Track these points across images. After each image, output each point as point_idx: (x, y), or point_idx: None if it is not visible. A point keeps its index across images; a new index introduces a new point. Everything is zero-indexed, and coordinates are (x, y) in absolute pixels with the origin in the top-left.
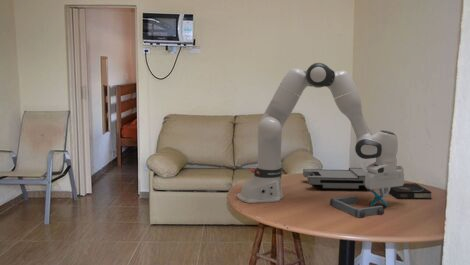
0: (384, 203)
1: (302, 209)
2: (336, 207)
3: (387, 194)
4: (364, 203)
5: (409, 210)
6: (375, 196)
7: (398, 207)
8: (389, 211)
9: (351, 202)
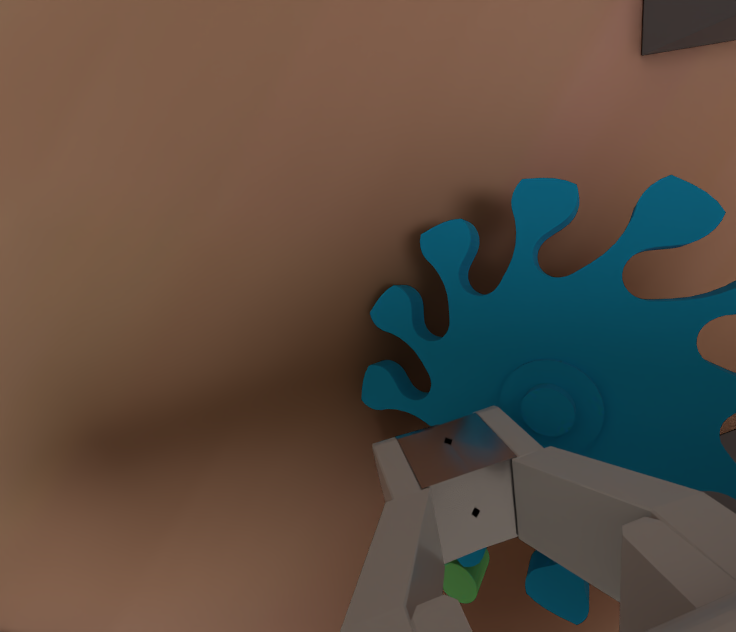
0: (559, 184)
1: None
2: None
3: (401, 469)
4: None
5: (77, 6)
6: None
7: (215, 239)
8: (487, 62)
9: None
